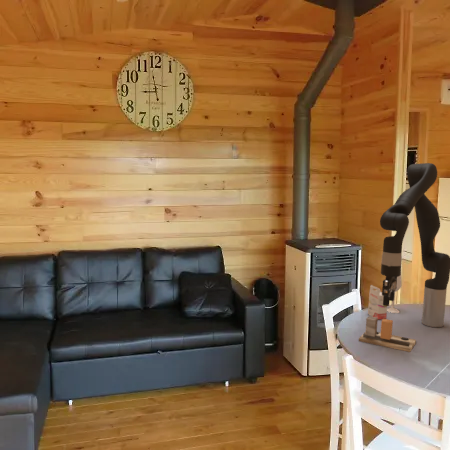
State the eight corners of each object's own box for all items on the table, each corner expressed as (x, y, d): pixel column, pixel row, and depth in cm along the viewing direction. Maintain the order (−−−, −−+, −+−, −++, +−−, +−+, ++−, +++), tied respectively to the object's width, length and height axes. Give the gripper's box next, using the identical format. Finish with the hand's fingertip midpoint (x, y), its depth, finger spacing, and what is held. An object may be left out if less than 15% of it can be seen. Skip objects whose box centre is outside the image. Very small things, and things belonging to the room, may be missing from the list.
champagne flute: (385, 312, 238) (388, 264, 235) (385, 308, 245) (388, 261, 241) (399, 313, 236) (403, 265, 233) (399, 309, 243) (402, 262, 240)
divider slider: (385, 333, 203) (387, 315, 202) (394, 335, 201) (395, 316, 200) (380, 340, 195) (381, 321, 194) (389, 342, 193) (390, 322, 192)
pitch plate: (366, 332, 208) (368, 310, 207) (415, 342, 198) (417, 319, 197) (358, 341, 198) (360, 318, 197) (410, 351, 188) (411, 327, 187)
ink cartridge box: (387, 319, 227) (389, 288, 225) (377, 320, 226) (380, 289, 224) (376, 313, 235) (378, 284, 234) (367, 314, 234) (369, 284, 232)
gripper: (386, 259, 199) (383, 297, 201) (377, 264, 187) (374, 305, 189) (405, 261, 195) (402, 300, 198) (397, 267, 183) (394, 309, 185)
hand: (388, 303), depth 193 cm, fingers open, 8 cm apart
